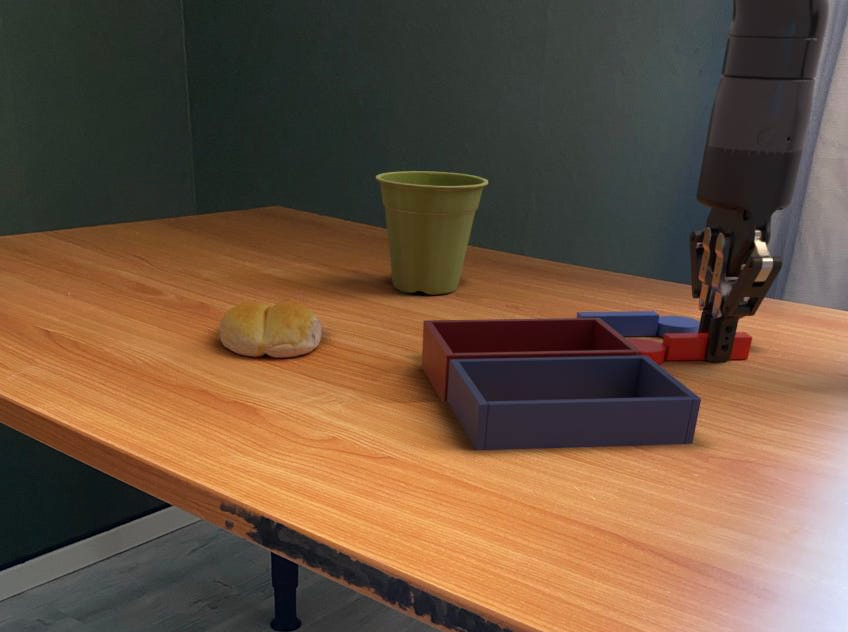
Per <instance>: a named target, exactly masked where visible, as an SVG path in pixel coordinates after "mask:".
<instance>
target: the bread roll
mask: <svg viewBox="0 0 848 632" xmlns="http://www.w3.org/2000/svg"><path fill="white" fill-rule="evenodd" d="M322 325H323V323H322V321H321V319H319V318H318V317H317V316H316V314H315V313H314V312H313V311H311V309H309V308H308V307H307V306H306V305H304V304H302V303H300V302H298V301H294V300H287V299H285V300H283V301H280V302H277V303H275V304H274V305H272V306H271V305H269V304H267V303H266V302H262V301H256V300H249V301H243V302H240V303H238V304H236V305H234V306H232V307H231V308H230V309H229V310H227V311H226V312H225V313H224V315H223V316H222V317H221V320H220V322H219V326H218V327H219V328H218V329H219V330H218V331H219V334H220V338H219V339H220V341H221V344H222V345H223V346H224V347H225V348H227V349H228V350H230V351H231V352H233V353H235V354H238V355H240V356H244V357H253V358H259V357H263V356H264V355H265V354H266V355H268V356H269V357H272V358H274V359H275V358H276V359H281V358H282V359H283V358H284V359H285V358H294V357H299V356H302V355H306V354H308V353H311V352H312V351H313V350H315V349H316V348H317V347H318V346H319V344H320V342H321V339H322V332H323V327H322Z"/></svg>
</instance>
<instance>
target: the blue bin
mask: <svg viewBox="0 0 848 632" xmlns="http://www.w3.org/2000/svg"><path fill="white" fill-rule="evenodd" d="M446 403H447V404H448V405H449V408H450V409H451V410H452V412H453V414H454V416H455V418H456V419H457V421H458V423H459V424H460V426H461V428H462V429H463V431H464V433H465V434H466V436H467V438H468V440H469V441H470V443H471V445H472V446H473V449H474V450H475V451H477V452H478V451H505V450H534V449H535V450H536V449H537V450H538V449H539V450H540V449H542V450H543V449H571V448H601V447H608V448H609V447H634V446H635V447H637V446H638V447H639V446H669V445H671V446H672V445H693V443H694V437H695V433H696V428H697V424H698V423H697V422H698V418H699V413H700V409H701V403H702V398H701V397H700V396H698V395H697V394H696V393H695V392H693V391H692V390H691V389H689V388H688V387H687V386H686V385H685V384H683V383H682V382H681V381H680V380H678V378H676V377H674V376H673V374H671V373H669V372H668V371H667V370H666V369H665V368H663V367H662V366H660V364H657V363H656V362H654V361H653V360H652V359H650V358H649V357H648V356H595V357H545V358H494V359H458V360H457V359H450V361H449V378H448V394H447V402H446Z"/></svg>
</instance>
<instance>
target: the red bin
mask: <svg viewBox="0 0 848 632" xmlns="http://www.w3.org/2000/svg"><path fill="white" fill-rule="evenodd" d="M422 325H423V326H422V327H423V328H422V329H423V330H422V349H421V351H422V352H421V369H422V371H423V372H424V373H423V374H425V376H426V379H427V380H428V382H429V383H430V385H431V387H432V389H433V390H434V392H435V394H436V396H437V398H438V400H439V401H440V403H448V402H447V394H448V378H449V361H450V359H457V360H458V359H494V358H545V357H595V356H641V354H642V351H640V350H639V349H638V348H637V347H635V346H634V345H633V344H632V343H630V342H629V341H628V340H627V339H628V338H626V337H623V336H622V335H620V334H619V333H618V332H617V331H615V330H614V329H613V328H611V327H610V326H609V325H608V324H606V323H605V322H604V321H603V320H601V319H600V318H577V317H563V318H562V317H561V318H560V317H559V318H499V319H498V318H497V319H495V318H494V319H493V318H492V319H489V318H488V319H487V318H486V319H431V320H430V319H429V320H428V319H427V320H423V324H422Z"/></svg>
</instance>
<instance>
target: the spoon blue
mask: <svg viewBox="0 0 848 632" xmlns="http://www.w3.org/2000/svg"><path fill="white" fill-rule="evenodd" d="M576 318H600V319H601V320H603V321H604V322H605V323H606V324H608V325H609V326H610V327H611V328H613V329H614V330H615V331H617V332H618V333H619V334H620V335H622V336H623V337H624V338H626V337H627V338H629V337H631V338H632V337H633V338H634V337H656V336H658V337H661V338H664V334H665V333H698V330H699V324H700V320H697V319H696V318H693V317H687V316H681V315H661V316H660V314H659V313H657V312H656V311H654V310H634V311H633V310H631V311H630V310H628V311H627V310H625V311H623V310H621V311H619V310H618V311H578V312H576Z"/></svg>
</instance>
